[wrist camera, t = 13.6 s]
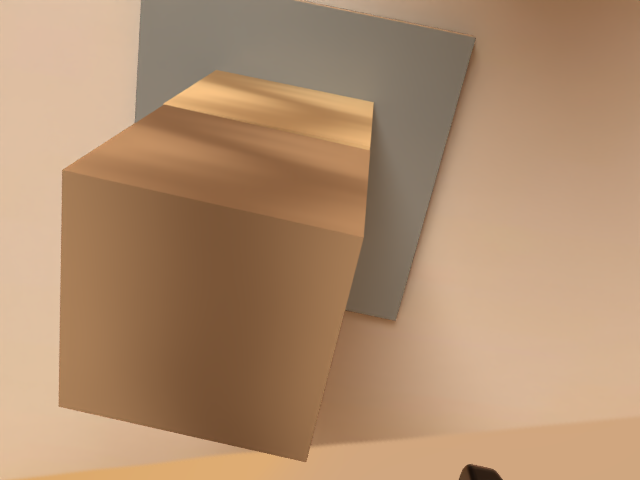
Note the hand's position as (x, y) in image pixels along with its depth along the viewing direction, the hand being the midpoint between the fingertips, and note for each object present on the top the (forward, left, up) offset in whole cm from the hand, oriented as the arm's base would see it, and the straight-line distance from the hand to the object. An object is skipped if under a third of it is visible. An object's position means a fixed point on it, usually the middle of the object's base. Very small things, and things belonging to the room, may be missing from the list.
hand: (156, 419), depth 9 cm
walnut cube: (0, 0, -7) cm, 7 cm away
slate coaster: (0, 0, -13) cm, 13 cm away
